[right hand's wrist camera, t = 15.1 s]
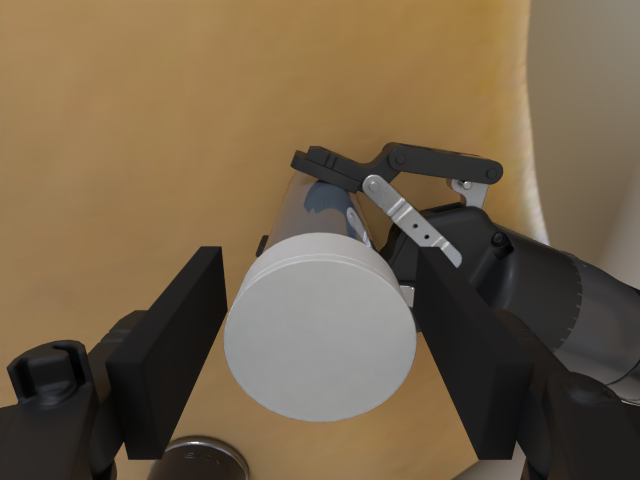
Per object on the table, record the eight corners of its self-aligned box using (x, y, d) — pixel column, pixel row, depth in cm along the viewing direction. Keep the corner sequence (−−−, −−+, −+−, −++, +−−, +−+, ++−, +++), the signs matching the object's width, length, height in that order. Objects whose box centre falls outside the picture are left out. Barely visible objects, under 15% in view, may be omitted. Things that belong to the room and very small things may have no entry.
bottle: (278, 211, 28) (216, 368, 11) (302, 151, 26) (271, 231, 10) (336, 235, 28) (360, 415, 12) (363, 177, 27) (431, 293, 10)
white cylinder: (386, 379, 13) (399, 429, 11) (237, 366, 13) (222, 415, 11) (414, 240, 11) (435, 269, 9) (241, 223, 11) (224, 250, 9)
